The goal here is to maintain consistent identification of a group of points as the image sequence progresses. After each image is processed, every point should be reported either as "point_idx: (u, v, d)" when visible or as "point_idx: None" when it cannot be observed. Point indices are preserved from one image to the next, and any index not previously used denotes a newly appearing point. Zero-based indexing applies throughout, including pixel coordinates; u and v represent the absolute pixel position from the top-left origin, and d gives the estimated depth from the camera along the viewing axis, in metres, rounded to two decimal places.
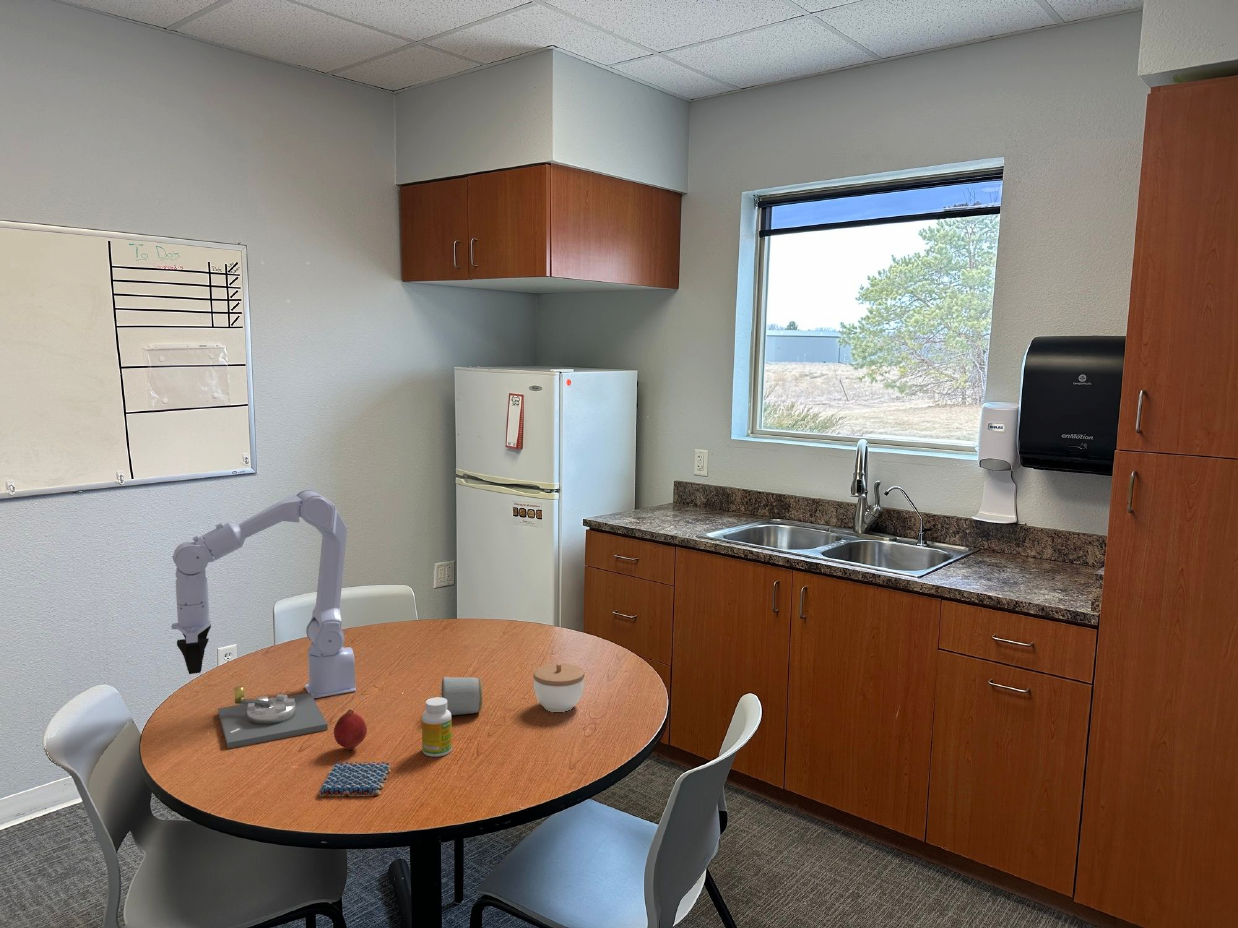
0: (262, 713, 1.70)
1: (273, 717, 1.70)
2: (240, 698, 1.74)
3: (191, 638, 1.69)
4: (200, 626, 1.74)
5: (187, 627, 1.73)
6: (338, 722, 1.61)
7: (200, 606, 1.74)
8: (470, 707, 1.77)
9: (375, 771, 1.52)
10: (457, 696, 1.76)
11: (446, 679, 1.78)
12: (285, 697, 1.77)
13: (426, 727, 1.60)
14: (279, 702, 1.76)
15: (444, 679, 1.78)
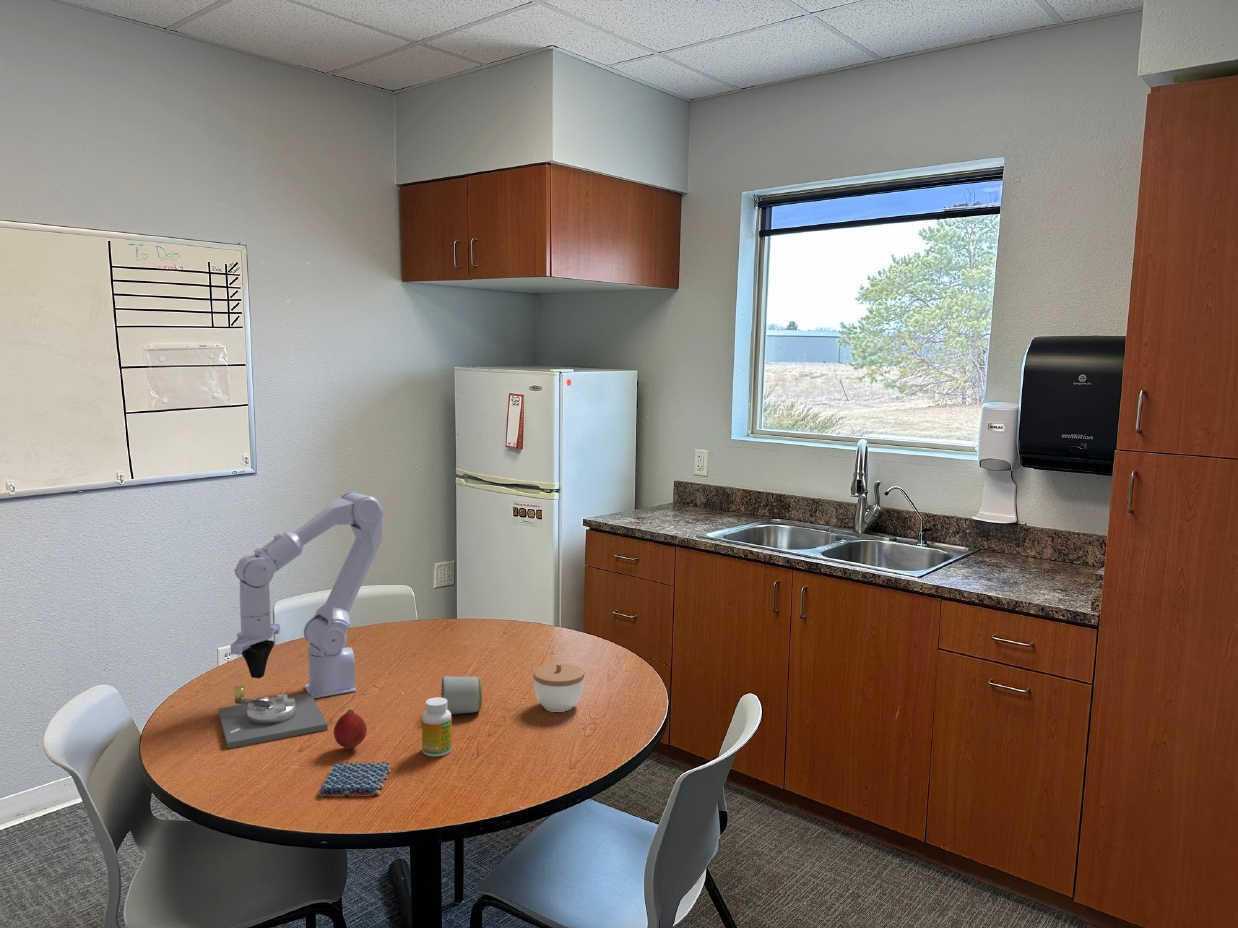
0: (262, 713, 1.70)
1: (273, 717, 1.70)
2: (240, 698, 1.74)
3: (234, 649, 1.73)
4: (254, 639, 1.77)
5: (243, 638, 1.77)
6: (338, 722, 1.61)
7: (255, 619, 1.77)
8: (470, 707, 1.77)
9: (375, 771, 1.52)
10: (457, 695, 1.76)
11: (446, 678, 1.78)
12: (285, 697, 1.77)
13: (426, 727, 1.60)
14: (279, 702, 1.76)
15: (444, 678, 1.78)
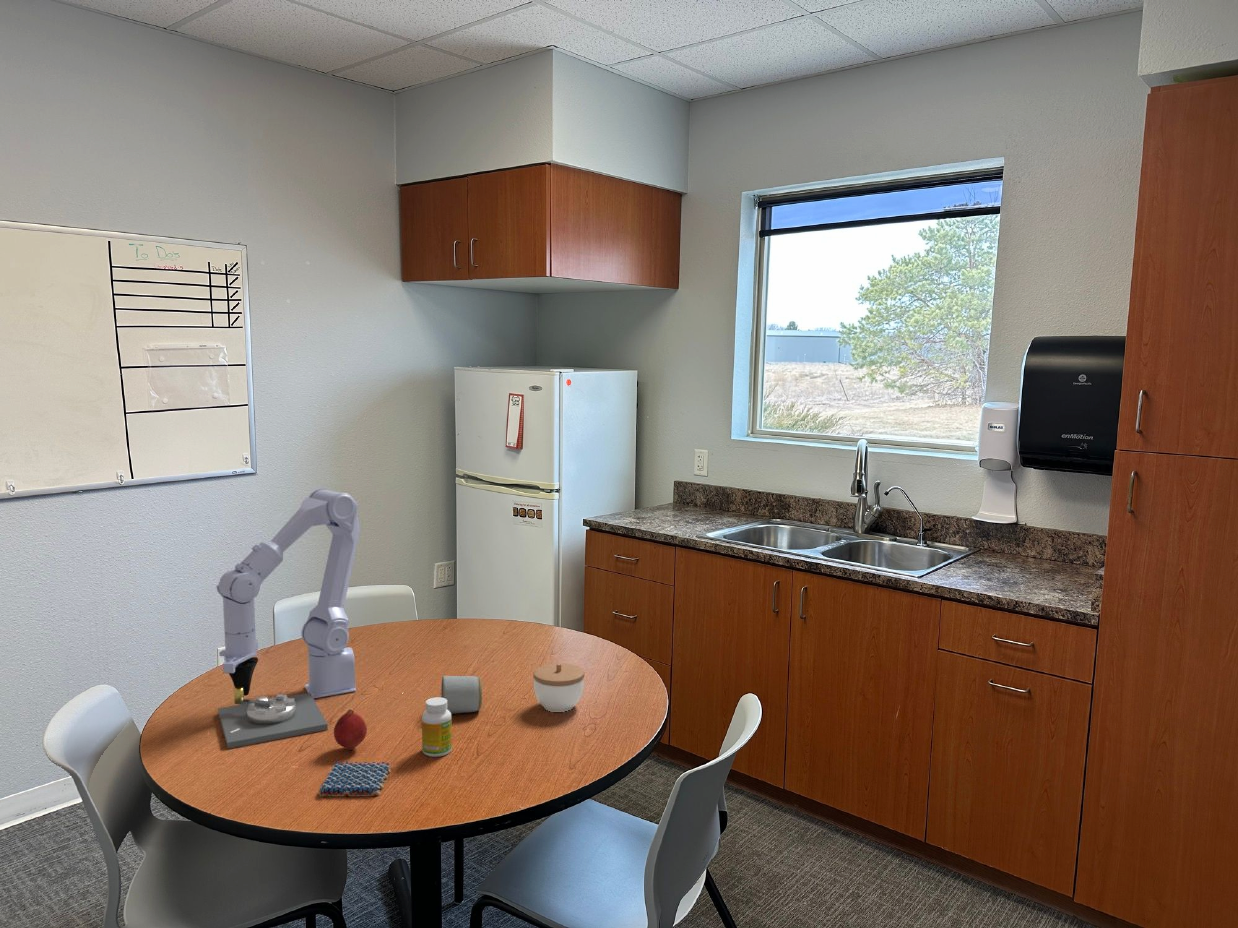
0: (262, 713, 1.70)
1: (274, 717, 1.70)
2: (240, 698, 1.74)
3: (227, 668, 1.68)
4: (243, 656, 1.73)
5: (231, 656, 1.72)
6: (338, 722, 1.61)
7: (243, 636, 1.73)
8: (470, 706, 1.78)
9: (375, 771, 1.52)
10: (457, 695, 1.77)
11: (446, 678, 1.79)
12: (285, 697, 1.77)
13: (426, 727, 1.60)
14: (279, 701, 1.76)
15: (444, 678, 1.79)
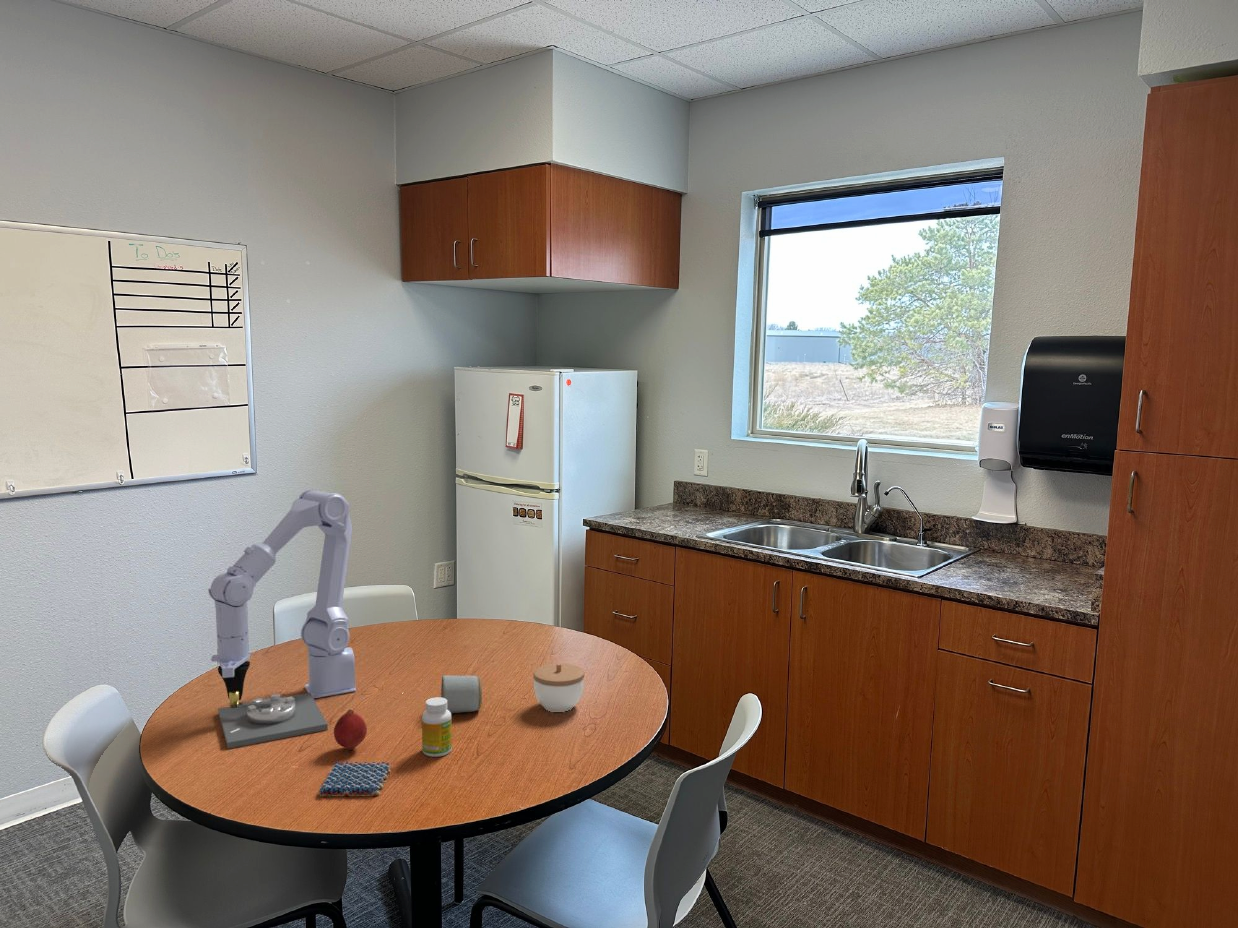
0: (269, 713, 1.70)
1: (281, 716, 1.71)
2: (236, 702, 1.72)
3: (227, 672, 1.66)
4: (238, 659, 1.71)
5: (226, 660, 1.70)
6: (338, 722, 1.61)
7: (239, 639, 1.71)
8: (470, 705, 1.78)
9: (375, 771, 1.52)
10: (457, 694, 1.77)
11: (446, 677, 1.79)
12: (280, 696, 1.78)
13: (426, 727, 1.60)
14: (276, 701, 1.76)
15: (444, 677, 1.79)
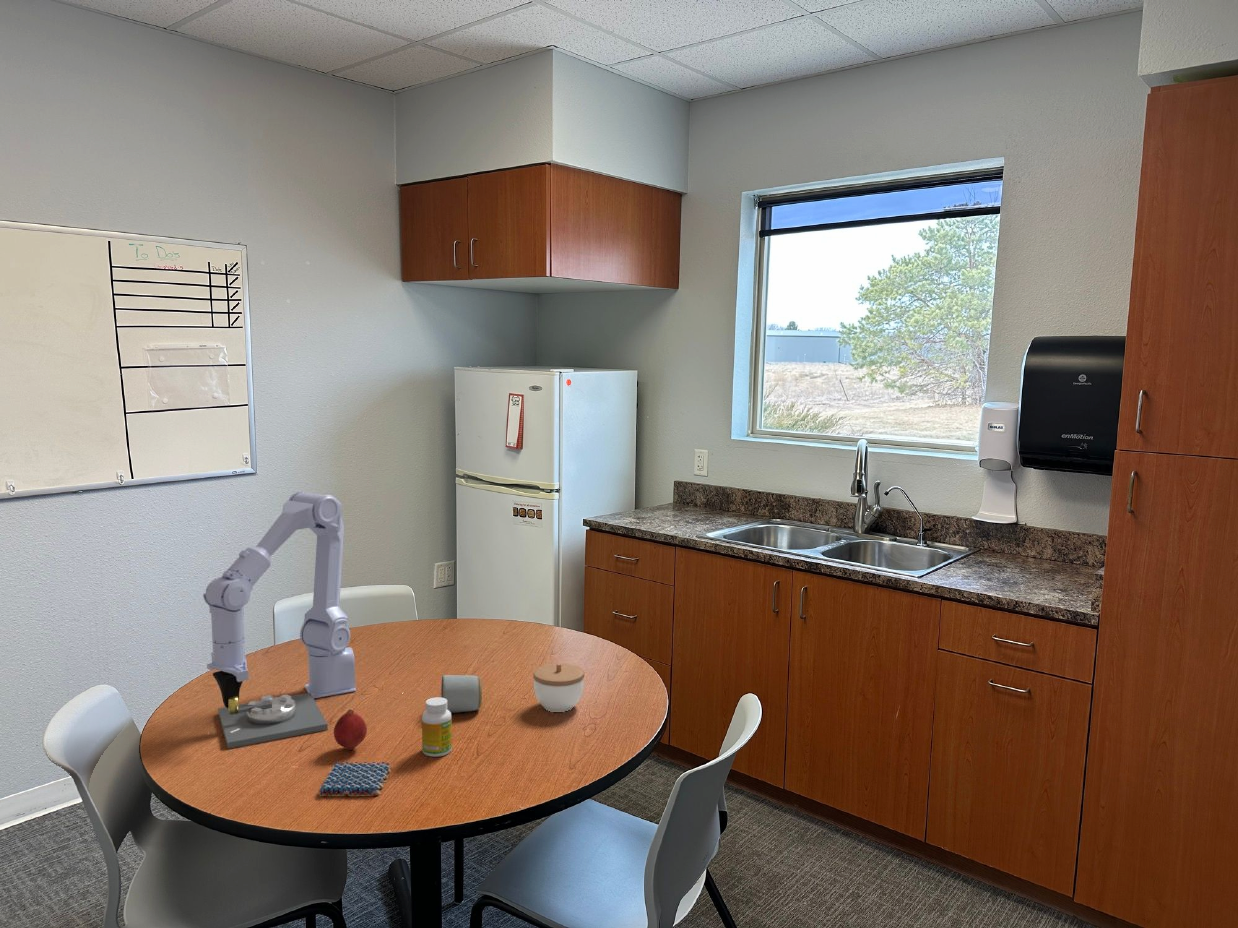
0: (280, 711, 1.71)
1: (290, 712, 1.73)
2: (237, 707, 1.70)
3: (243, 676, 1.64)
4: (241, 663, 1.69)
5: (229, 666, 1.67)
6: (338, 722, 1.61)
7: (241, 643, 1.68)
8: (470, 705, 1.78)
9: (375, 771, 1.52)
10: (457, 694, 1.77)
11: (446, 677, 1.79)
12: (271, 697, 1.77)
13: (426, 727, 1.60)
14: (271, 701, 1.76)
15: (444, 677, 1.79)
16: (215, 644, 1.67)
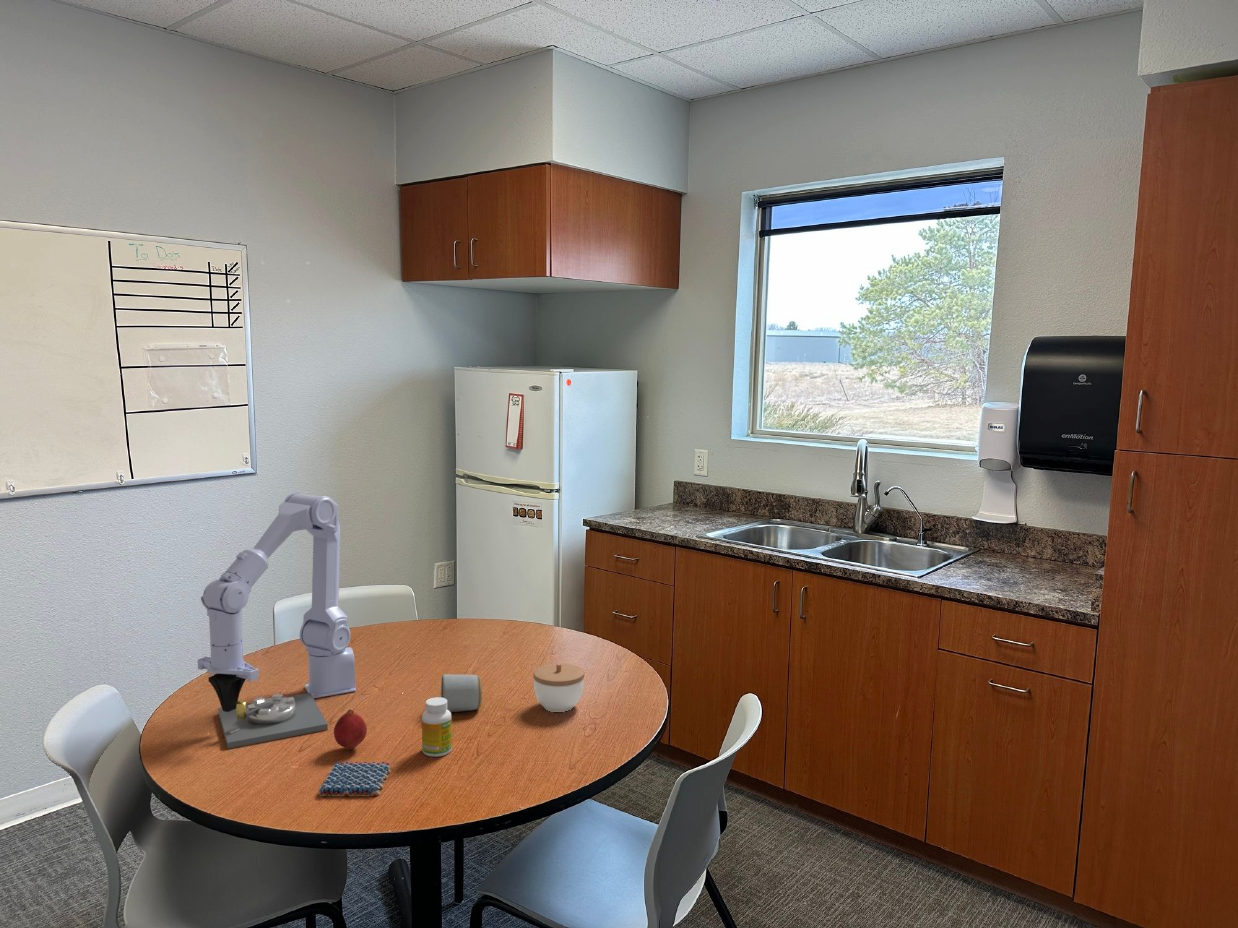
0: (289, 707, 1.73)
1: (295, 708, 1.75)
2: (246, 711, 1.68)
3: (254, 675, 1.65)
4: (243, 664, 1.68)
5: (233, 668, 1.66)
6: (338, 722, 1.61)
7: (242, 644, 1.68)
8: (469, 704, 1.79)
9: (375, 771, 1.52)
10: (456, 693, 1.78)
11: (446, 676, 1.80)
12: None
13: (426, 727, 1.60)
14: (266, 702, 1.75)
15: (444, 676, 1.80)
16: (217, 648, 1.65)
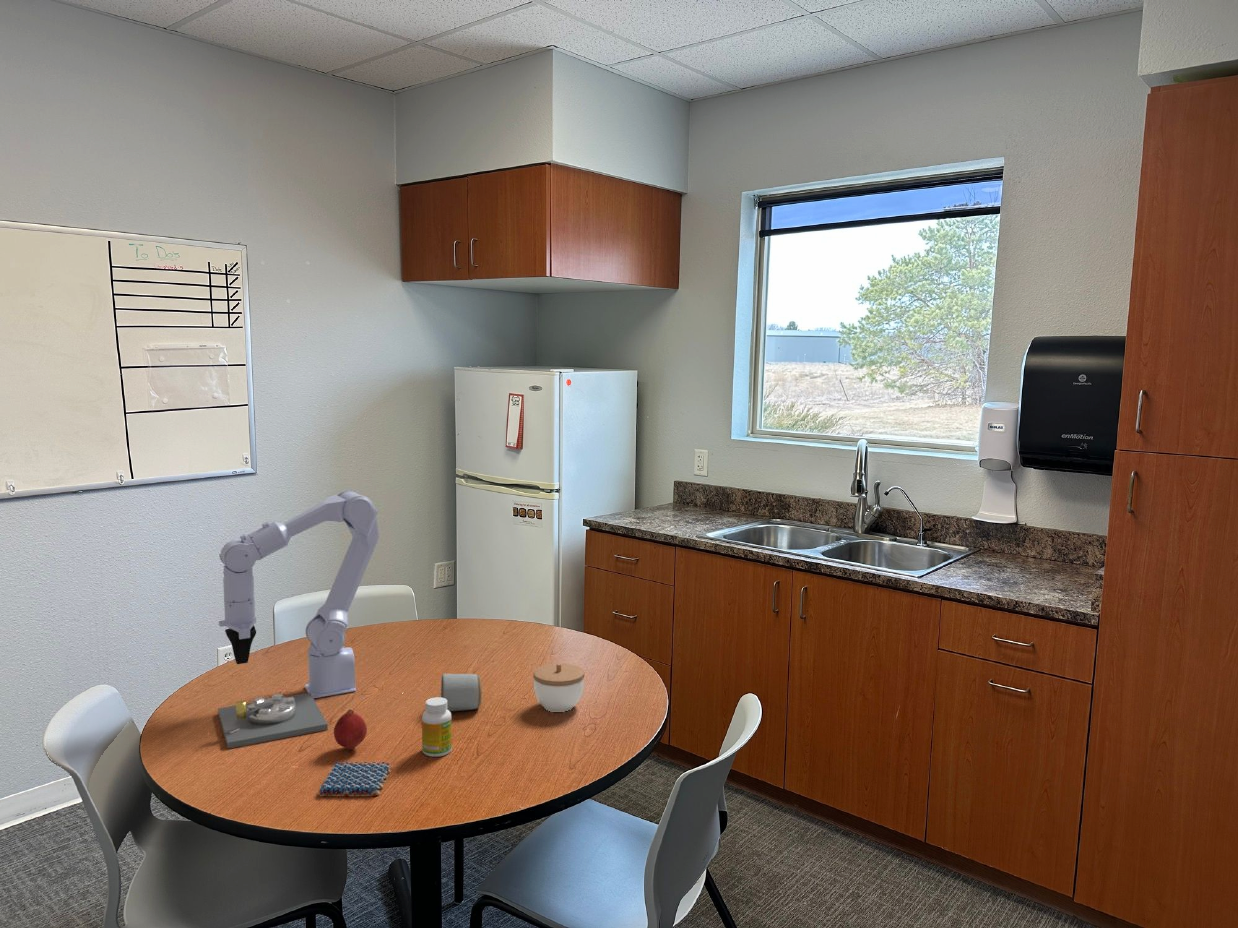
0: (289, 707, 1.73)
1: (295, 708, 1.75)
2: (246, 711, 1.68)
3: (244, 634, 1.73)
4: (248, 622, 1.78)
5: (236, 624, 1.77)
6: (338, 722, 1.61)
7: (248, 603, 1.78)
8: (469, 704, 1.79)
9: (375, 771, 1.52)
10: (456, 692, 1.78)
11: (446, 675, 1.80)
12: None
13: (426, 727, 1.60)
14: (266, 702, 1.75)
15: (444, 675, 1.80)
16: (225, 602, 1.77)
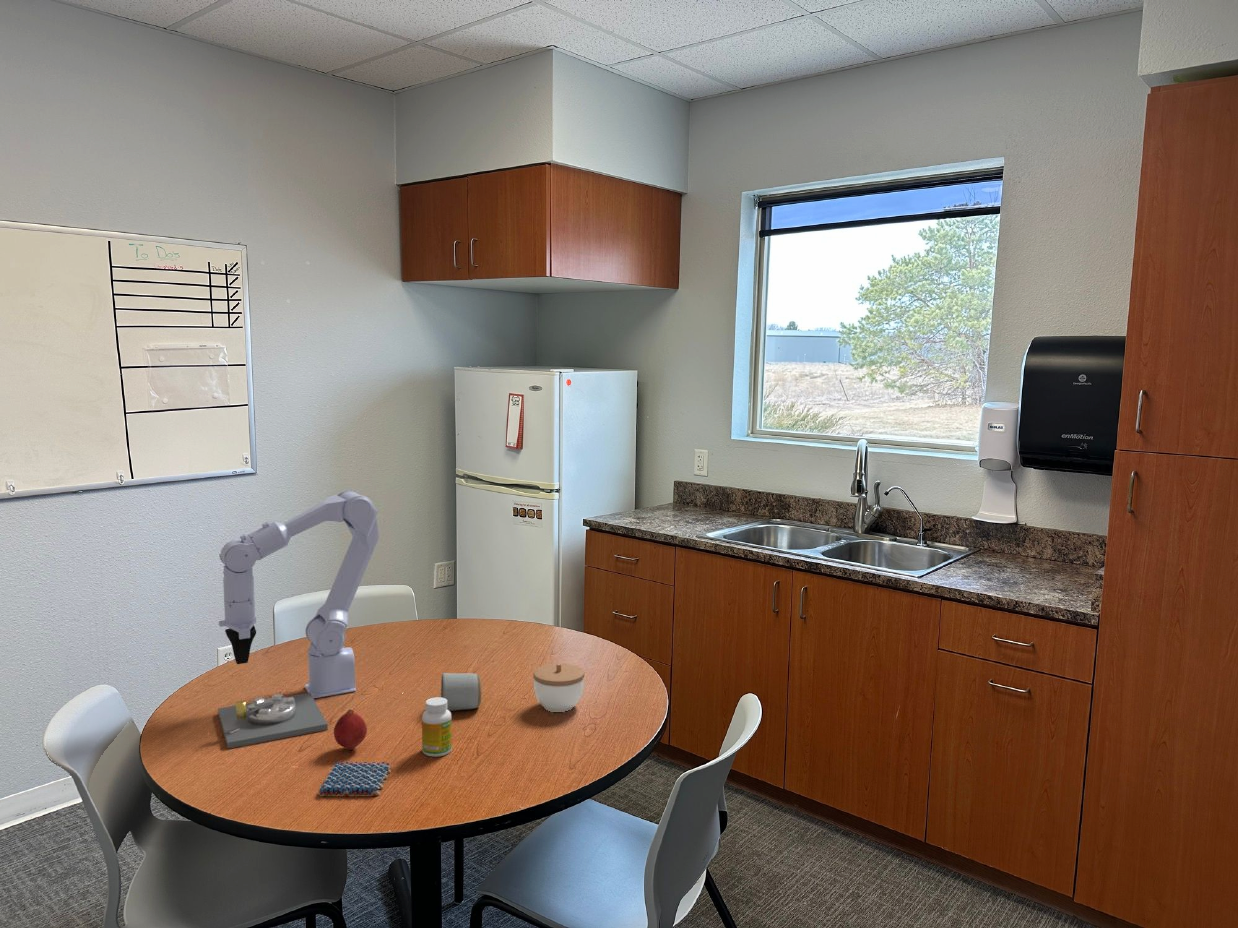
0: (289, 707, 1.73)
1: (295, 708, 1.75)
2: (246, 711, 1.68)
3: (244, 634, 1.73)
4: (248, 622, 1.78)
5: (236, 624, 1.77)
6: (338, 722, 1.61)
7: (248, 603, 1.78)
8: (469, 703, 1.79)
9: (375, 771, 1.52)
10: (456, 692, 1.78)
11: (446, 675, 1.80)
12: None
13: (426, 727, 1.60)
14: (266, 702, 1.75)
15: (444, 675, 1.80)
16: (225, 602, 1.77)
